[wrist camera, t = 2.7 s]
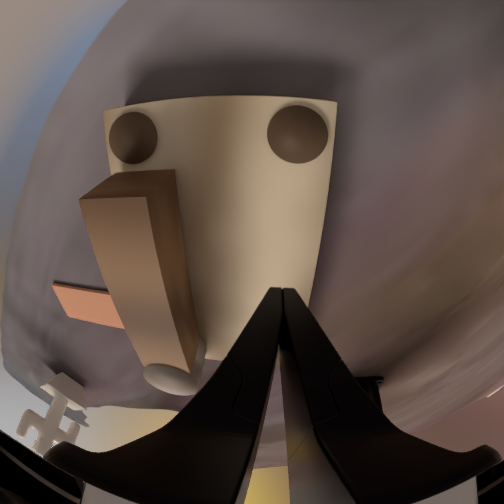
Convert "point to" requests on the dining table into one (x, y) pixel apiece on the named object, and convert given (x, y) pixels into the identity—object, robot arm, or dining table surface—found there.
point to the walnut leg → (148, 273)
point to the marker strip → (88, 305)
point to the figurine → (55, 413)
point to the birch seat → (236, 194)
